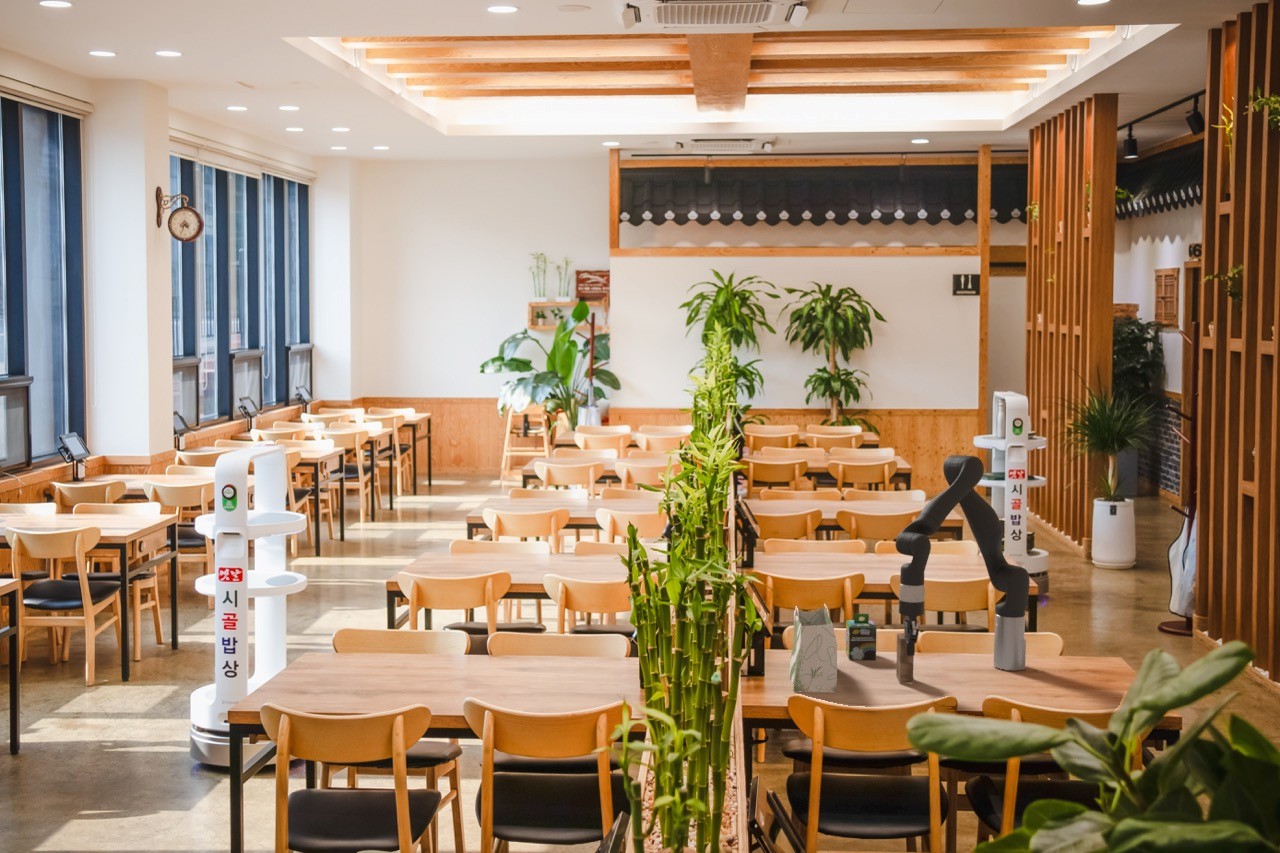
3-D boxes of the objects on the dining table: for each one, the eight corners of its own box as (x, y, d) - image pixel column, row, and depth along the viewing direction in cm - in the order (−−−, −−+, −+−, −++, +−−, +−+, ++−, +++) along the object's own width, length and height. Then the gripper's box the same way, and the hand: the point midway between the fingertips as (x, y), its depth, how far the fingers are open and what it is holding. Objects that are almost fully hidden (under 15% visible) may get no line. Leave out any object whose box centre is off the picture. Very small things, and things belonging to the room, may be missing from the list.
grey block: (909, 677, 406) (910, 633, 405) (912, 683, 399) (913, 639, 398) (896, 677, 406) (897, 633, 405) (899, 683, 399) (900, 638, 398)
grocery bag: (786, 663, 422) (787, 593, 420) (829, 664, 421) (831, 594, 419) (791, 692, 390) (792, 616, 388) (837, 693, 389) (839, 617, 387)
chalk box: (872, 653, 435) (873, 609, 434) (876, 660, 426) (877, 616, 425) (844, 653, 435) (845, 609, 434) (848, 660, 426) (849, 615, 425)
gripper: (928, 603, 384) (926, 661, 386) (920, 594, 397) (919, 649, 399) (902, 603, 385) (901, 660, 386) (895, 593, 398) (894, 649, 399)
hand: (910, 655), depth 392 cm, fingers closed
